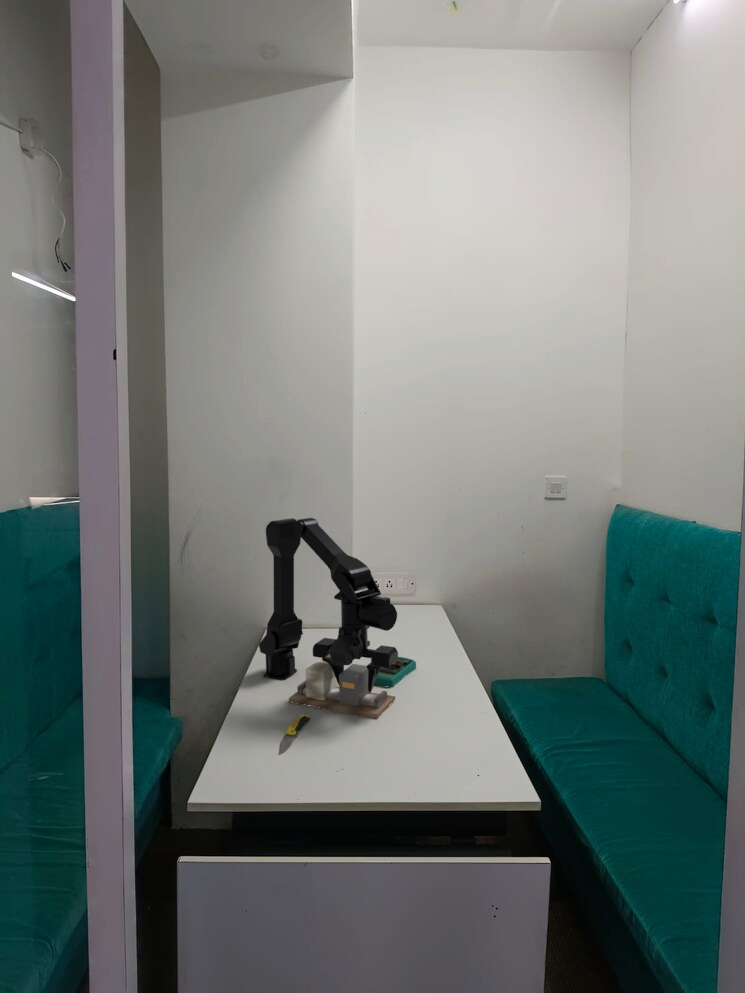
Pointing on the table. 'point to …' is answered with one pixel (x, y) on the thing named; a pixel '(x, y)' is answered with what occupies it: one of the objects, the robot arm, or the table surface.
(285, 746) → the utility knife
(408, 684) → the table surface
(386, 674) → the digital multimeter
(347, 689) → the block
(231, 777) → the table surface
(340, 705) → the din panel
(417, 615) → the table surface
